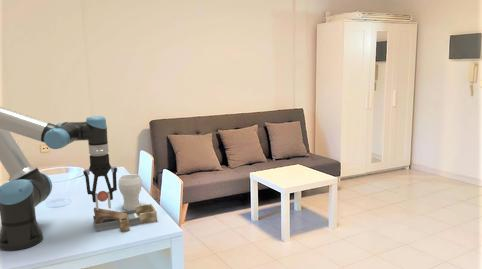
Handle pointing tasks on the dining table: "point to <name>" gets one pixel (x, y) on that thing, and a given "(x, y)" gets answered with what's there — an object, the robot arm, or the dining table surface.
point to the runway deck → (117, 221)
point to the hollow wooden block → (124, 224)
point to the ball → (102, 196)
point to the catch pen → (146, 213)
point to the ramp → (108, 215)
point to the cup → (130, 190)
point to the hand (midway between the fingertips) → (103, 208)
